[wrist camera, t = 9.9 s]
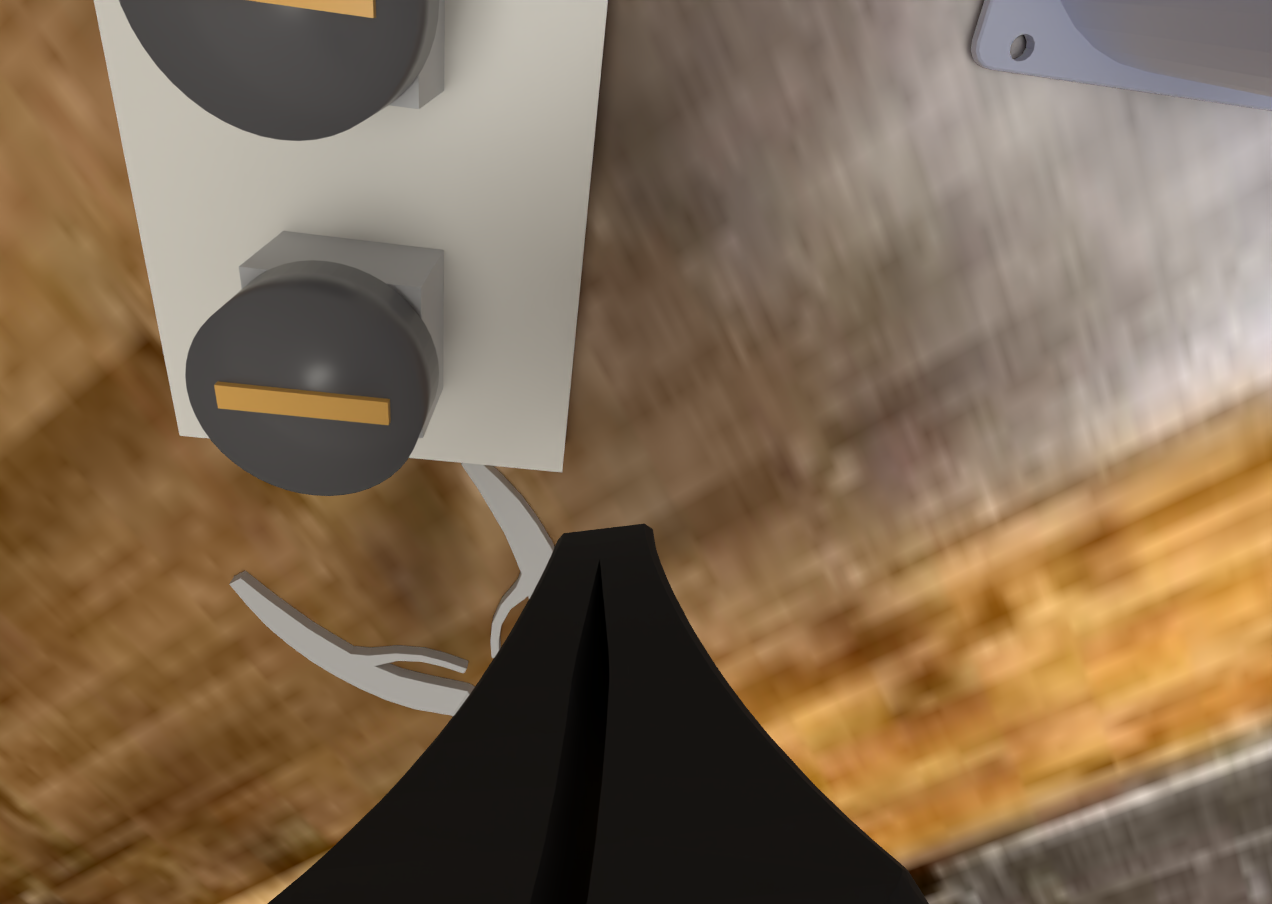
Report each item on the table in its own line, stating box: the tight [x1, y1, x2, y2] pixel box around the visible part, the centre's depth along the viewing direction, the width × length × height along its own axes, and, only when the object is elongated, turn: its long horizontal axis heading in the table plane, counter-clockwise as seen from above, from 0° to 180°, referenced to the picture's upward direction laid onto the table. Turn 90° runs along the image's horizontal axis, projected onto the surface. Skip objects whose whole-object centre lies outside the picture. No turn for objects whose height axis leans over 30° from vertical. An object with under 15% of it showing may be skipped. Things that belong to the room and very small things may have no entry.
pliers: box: [230, 463, 555, 716], centre depth 27 cm, size 10×2×15 cm
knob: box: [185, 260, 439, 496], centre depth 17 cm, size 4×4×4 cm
